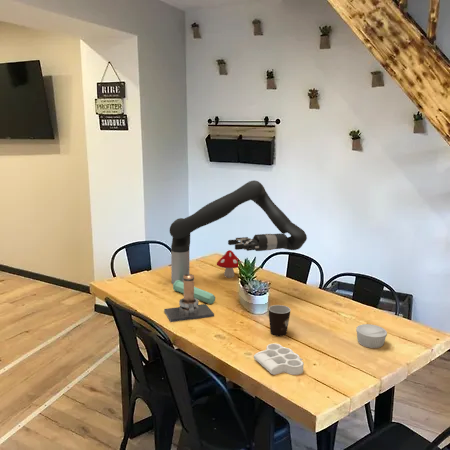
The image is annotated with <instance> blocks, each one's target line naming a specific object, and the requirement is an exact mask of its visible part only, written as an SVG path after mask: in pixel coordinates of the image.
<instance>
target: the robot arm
mask: <svg viewBox="0 0 450 450" xmlns="http://www.w3.org/2000/svg"><path fill="white" fill-rule="evenodd" d="M249 201H252V202H254V203H255V204H256V205H257V206H258V207H260V209H262V211H263V212H264V213H265V214H266V215H267V217H268V219H270V222H272V224H273V225H274V226H275V228H277V229H278V231H279V232H280V233H265V234H264V233H263V234H262V233H261V234H259V233H258V234H255V235H253V237H252V238H250V237H248V236H245V237H244V236H243V237H235V239H229V240H228V241H227V244H228V245H229V246H234V250H236V251H237V250H239V251H240V250H243V251H247V252H248V251H256V252H263V251H264V252H265V251H272V250H281V249H284V250H288V251H297V250H299V249H301V248H302V247H303V245H304V244H305V243H306V241H307V239H308V235H307V234H306V232H305V231H304V229H302V228H301V227H299V226H298V225H297V224H295V223H293V222H292V221H291V219H290V218H289V217H288V216H287V215H286V214H285V213H284V212H283V211H282V210H281V208H279V207H278V205H276V203H275V202H274V201H273V200H272V199H271V197H270V196H269V194H268V192H267V191H266V189H265V187H264V185H263V184H262V183H261V182H260V181H259V180H250V181H248V182H246V183H244V184H243V185H241V186H240V187H239V188H237V189H235V190H234V191H232V192H230V193H228V194H226V195H224V196H221V197H219V198H217V199H215V200H213V201H211V202H209V203H207V204H205V205H204V206H203V207H201V208H200V209H198V210H197V211H196V212H194V213H193V214H190V215H189V216H186V217H185V218H181V217H180V218H177V219H175V220H174V221H172V223H171V224H170V227H169V234H170V236H171V237H172V238H171V239H172V241H171V244H170V245H171V246H170V253H171V254H170V257H171V262H170V263H171V264H170V265H171V267H170V269H171V272H170V273H171V276H170V277H171V284H172V285H173V284H174V283H175V281H177V280H180V281H181V282H183V283H184V280H183V277H184V275H186V274H190V246H191V245H190V244H191V234H192V233H193V232H194V231H196V230H198V229H200V228H202V227H205V226H207V225H209V224H212V223H214V222H217V221H219V220H221V219H222V218H224V217H227V216H228V215H229V214H230V213H232V212H233V211H234V210H235V209H236V208H237V207H239V206H240V205H242V204H244V203H246V202H249ZM287 234H288V235H290V236H288V237H287Z"/></svg>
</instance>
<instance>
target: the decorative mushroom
mask: <svg viewBox="0 0 450 450" xmlns="http://www.w3.org/2000/svg"><path fill="white" fill-rule="evenodd" d="M237 259H238V260H239V261H240V262H241V263H243V262H242V261H241V259H239V258H238V256H237V255H236V254H235V253H234V251H232V250H229V249H228V250H227V251H226V252H224V253H223V255H222V257H220V259H218V260H217V262H216V266H218V267H219V268H222V269H225V270H224V273H223V276H224V278H229V279H230V278H231V279H232V278H234V277H235V270H234V269H236V268H239V267H238V260H237Z"/></svg>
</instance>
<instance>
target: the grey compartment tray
mask: <svg viewBox="0 0 450 450" xmlns="http://www.w3.org/2000/svg"><path fill="white" fill-rule="evenodd" d="M253 359H254V360H255V361H256V362H257V363H259V365H261V367H263V368H264V369H265V370H267V371H268V372H269V373H270V374H271V375H275V376H276V375H278V374H283V373H285V374H286V373H287V374H288V375H293V376H296V375H301V374H303V372H304V366H305V365H304V361H303V358H301V357H300V355H299V354H298V353H295V352H294V351H293V349H291V348H289V347H284V346H283V345H281V344H280V343H275V342H274V343H269V344H267V345H266V348H265V349H264V350H261V351H258V352H255V354H254V355H253Z"/></svg>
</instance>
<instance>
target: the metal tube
mask: <svg viewBox="0 0 450 450" xmlns="http://www.w3.org/2000/svg"><path fill="white" fill-rule="evenodd" d="M183 280H184V294H183V298H184V303H188V304H190V303H194V287H195V274H191V273H189V274H186V275H184V277H183ZM184 309H186V310H189V308H185V307H184Z"/></svg>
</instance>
